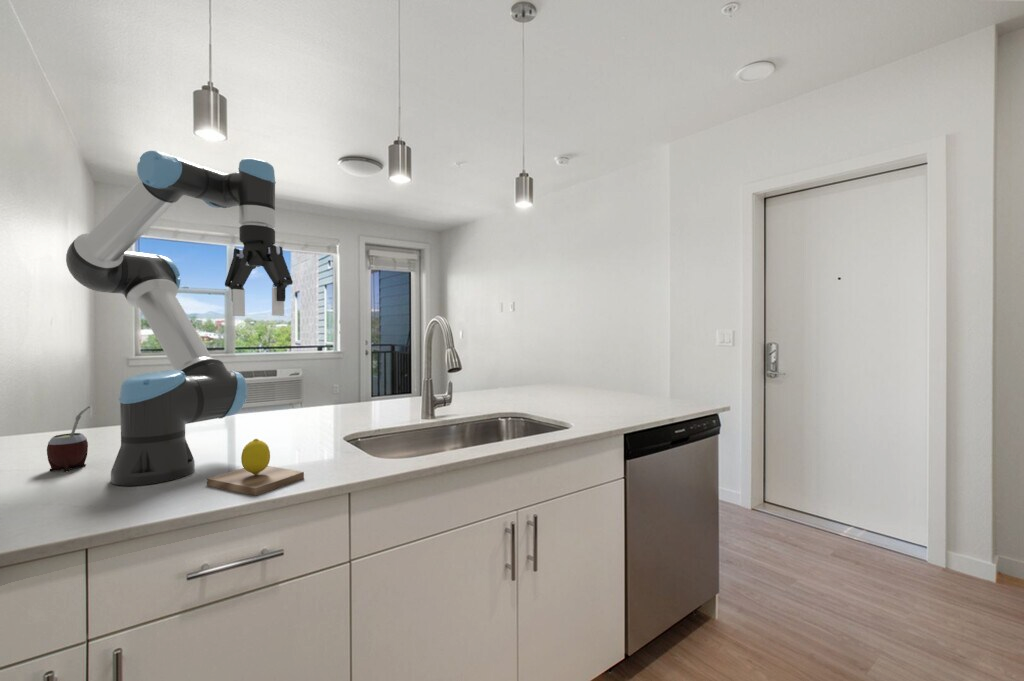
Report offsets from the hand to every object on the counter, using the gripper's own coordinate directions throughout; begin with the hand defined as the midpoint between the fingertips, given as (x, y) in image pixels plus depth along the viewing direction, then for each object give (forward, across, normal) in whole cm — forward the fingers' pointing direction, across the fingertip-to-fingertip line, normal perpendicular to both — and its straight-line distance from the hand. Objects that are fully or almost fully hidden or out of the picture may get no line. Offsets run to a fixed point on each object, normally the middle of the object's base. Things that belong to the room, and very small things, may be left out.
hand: (257, 316), depth 112 cm
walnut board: (+37, -9, +8) cm, 39 cm away
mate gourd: (+37, +40, +19) cm, 58 cm away
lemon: (+35, -9, +8) cm, 37 cm away
